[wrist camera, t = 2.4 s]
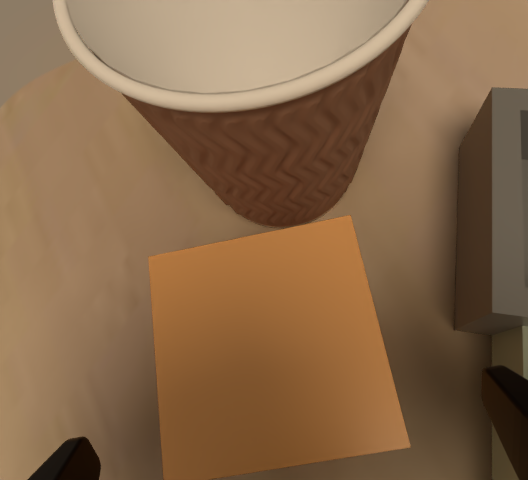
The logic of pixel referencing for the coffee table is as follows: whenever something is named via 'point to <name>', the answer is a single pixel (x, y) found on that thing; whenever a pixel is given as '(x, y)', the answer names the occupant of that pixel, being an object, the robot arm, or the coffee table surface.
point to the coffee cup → (251, 87)
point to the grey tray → (495, 238)
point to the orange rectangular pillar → (270, 354)
